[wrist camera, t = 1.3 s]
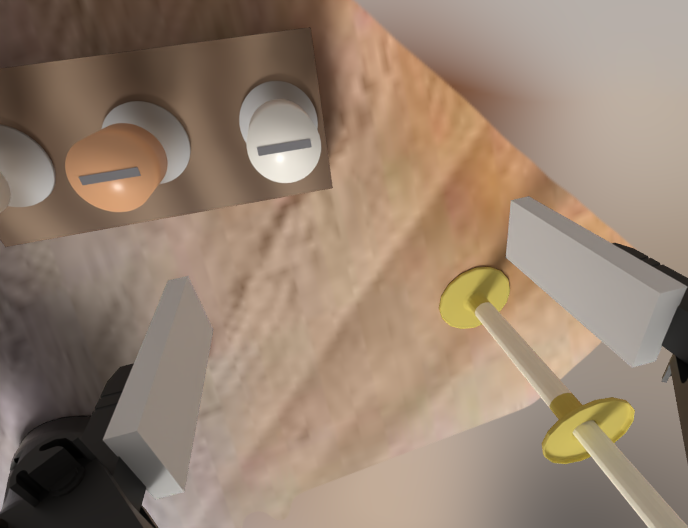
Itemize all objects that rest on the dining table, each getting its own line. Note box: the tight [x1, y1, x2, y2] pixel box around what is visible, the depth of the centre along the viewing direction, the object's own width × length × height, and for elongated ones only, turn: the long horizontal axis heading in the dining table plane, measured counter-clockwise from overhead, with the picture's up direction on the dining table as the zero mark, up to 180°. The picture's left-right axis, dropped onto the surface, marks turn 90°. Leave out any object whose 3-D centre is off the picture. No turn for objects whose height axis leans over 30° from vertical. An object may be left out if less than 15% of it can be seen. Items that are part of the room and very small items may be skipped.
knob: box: [246, 99, 321, 183], centre depth 23 cm, size 4×4×4 cm
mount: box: [0, 27, 333, 247], centre depth 30 cm, size 27×12×5 cm, turn 97°
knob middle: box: [65, 123, 168, 212], centre depth 22 cm, size 4×4×4 cm
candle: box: [439, 267, 688, 528], centre depth 33 cm, size 10×10×38 cm
